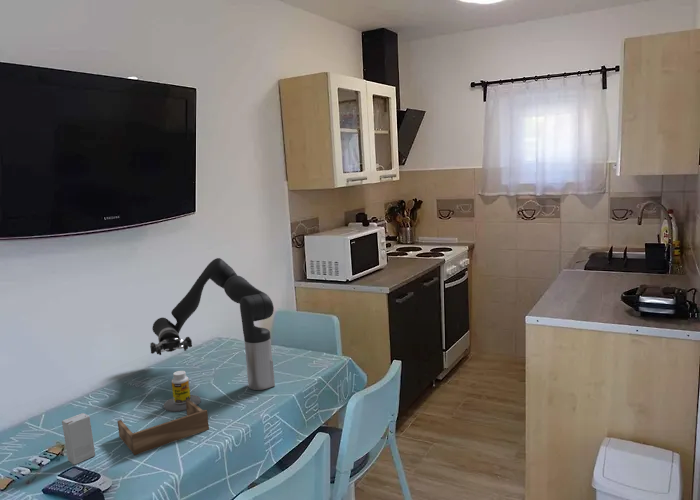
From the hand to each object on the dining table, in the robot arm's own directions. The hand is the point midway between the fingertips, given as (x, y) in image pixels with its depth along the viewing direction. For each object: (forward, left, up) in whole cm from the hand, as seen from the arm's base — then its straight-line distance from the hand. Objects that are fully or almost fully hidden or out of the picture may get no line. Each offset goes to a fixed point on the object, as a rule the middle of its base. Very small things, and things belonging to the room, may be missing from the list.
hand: (172, 350), depth 196 cm
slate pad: (-2, +11, -16) cm, 19 cm away
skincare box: (+23, +40, -16) cm, 49 cm away
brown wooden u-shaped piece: (+2, +31, -16) cm, 35 cm away
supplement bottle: (-3, +11, -15) cm, 19 cm away
